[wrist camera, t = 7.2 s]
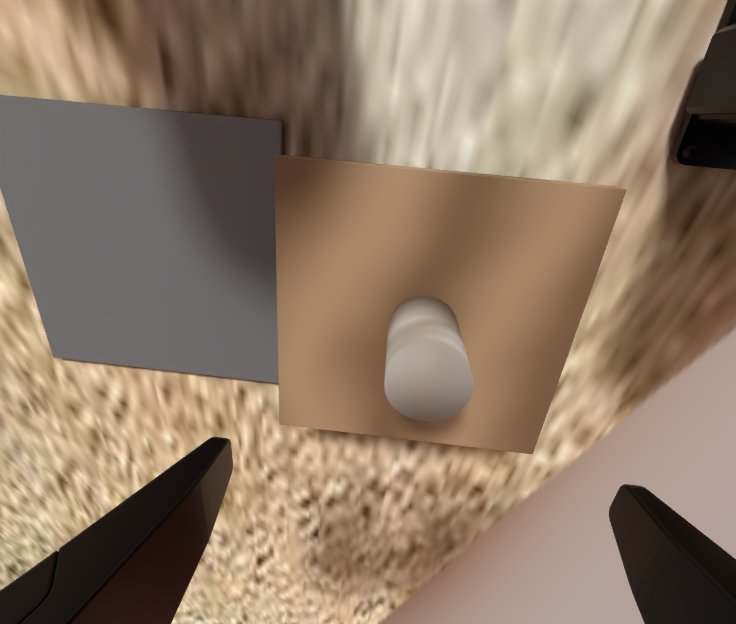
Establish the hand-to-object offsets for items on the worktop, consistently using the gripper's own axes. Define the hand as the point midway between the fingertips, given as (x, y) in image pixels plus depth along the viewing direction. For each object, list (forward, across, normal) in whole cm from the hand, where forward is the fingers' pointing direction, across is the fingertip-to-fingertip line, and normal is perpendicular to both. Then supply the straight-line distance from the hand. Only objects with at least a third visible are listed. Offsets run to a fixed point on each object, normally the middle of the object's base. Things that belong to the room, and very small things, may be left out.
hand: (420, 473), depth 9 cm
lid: (+8, 0, 0) cm, 9 cm away
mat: (+12, +14, 0) cm, 18 cm away
